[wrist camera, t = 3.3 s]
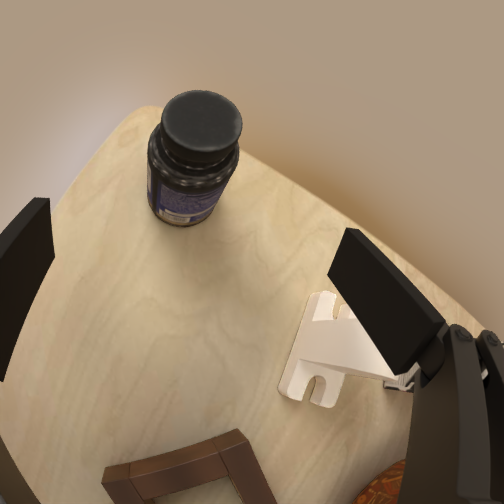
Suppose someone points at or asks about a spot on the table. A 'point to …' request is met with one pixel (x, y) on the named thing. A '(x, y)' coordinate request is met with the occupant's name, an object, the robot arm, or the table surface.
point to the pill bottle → (192, 156)
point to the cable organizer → (330, 352)
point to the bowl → (383, 487)
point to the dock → (190, 472)
